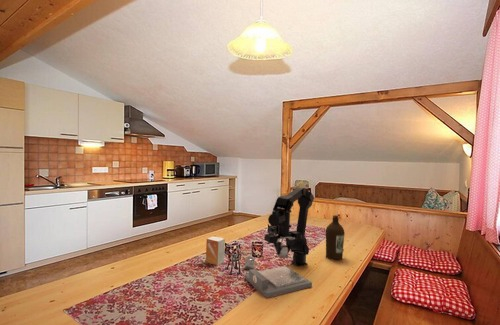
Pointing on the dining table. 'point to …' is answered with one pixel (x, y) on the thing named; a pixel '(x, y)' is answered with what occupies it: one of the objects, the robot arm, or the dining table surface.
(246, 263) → the steel spacer
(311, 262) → the dining table surface
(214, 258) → the small box
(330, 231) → the olive oil
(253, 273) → the kitchen scale
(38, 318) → the dining table surface
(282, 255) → the cylinder
